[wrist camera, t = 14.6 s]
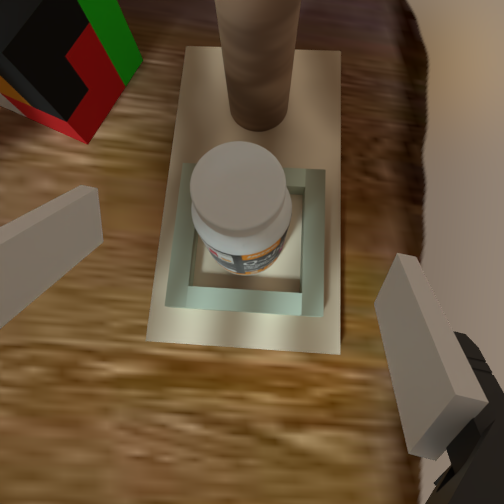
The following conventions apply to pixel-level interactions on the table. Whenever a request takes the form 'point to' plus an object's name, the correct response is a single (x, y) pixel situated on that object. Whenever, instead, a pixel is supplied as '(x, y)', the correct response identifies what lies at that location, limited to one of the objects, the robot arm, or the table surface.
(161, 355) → the table surface
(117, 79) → the puzzle toy
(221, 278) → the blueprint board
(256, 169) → the pill bottle
